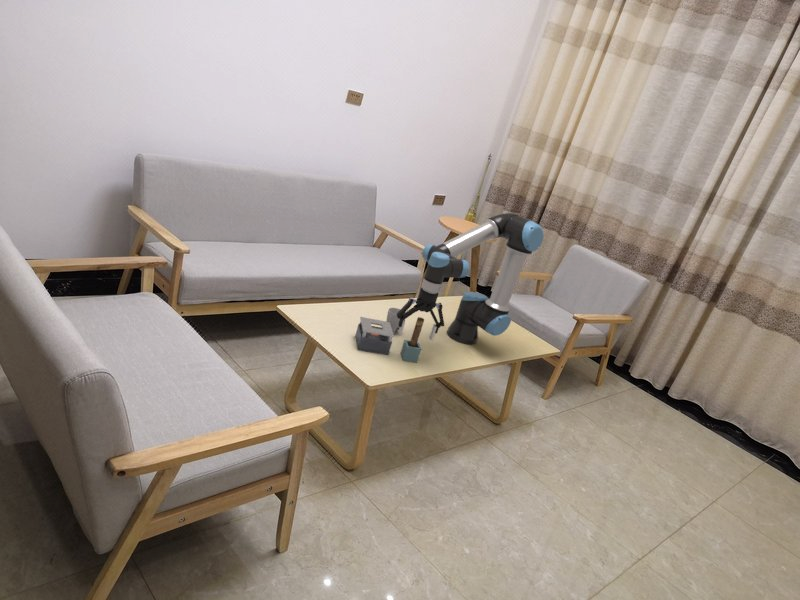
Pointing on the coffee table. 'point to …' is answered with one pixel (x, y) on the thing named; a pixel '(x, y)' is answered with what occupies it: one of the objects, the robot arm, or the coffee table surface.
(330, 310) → the coffee table surface
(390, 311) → the cup
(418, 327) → the brown square bar
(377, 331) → the grey square box
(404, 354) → the holder
